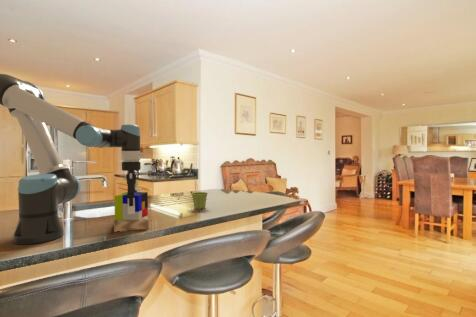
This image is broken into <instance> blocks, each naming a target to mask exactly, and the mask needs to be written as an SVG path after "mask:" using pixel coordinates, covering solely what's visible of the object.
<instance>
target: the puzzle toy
mask: <svg viewBox="0 0 476 317" xmlns="http://www.w3.org/2000/svg"><path fill="white" fill-rule="evenodd" d="M148 194H149V193H148V191H147V192H146V191H140V192H134V195H135V197H134V198H135V214H128V198H126V196H127V195H128V191H127V192H126V191H124V192H122V193H118V194H116V195H114V221H115V220H140V219H141V218H143V217H145V216H146V215H148V216H149V206H148V204H149V202H148V198H149V197H148Z"/></svg>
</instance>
